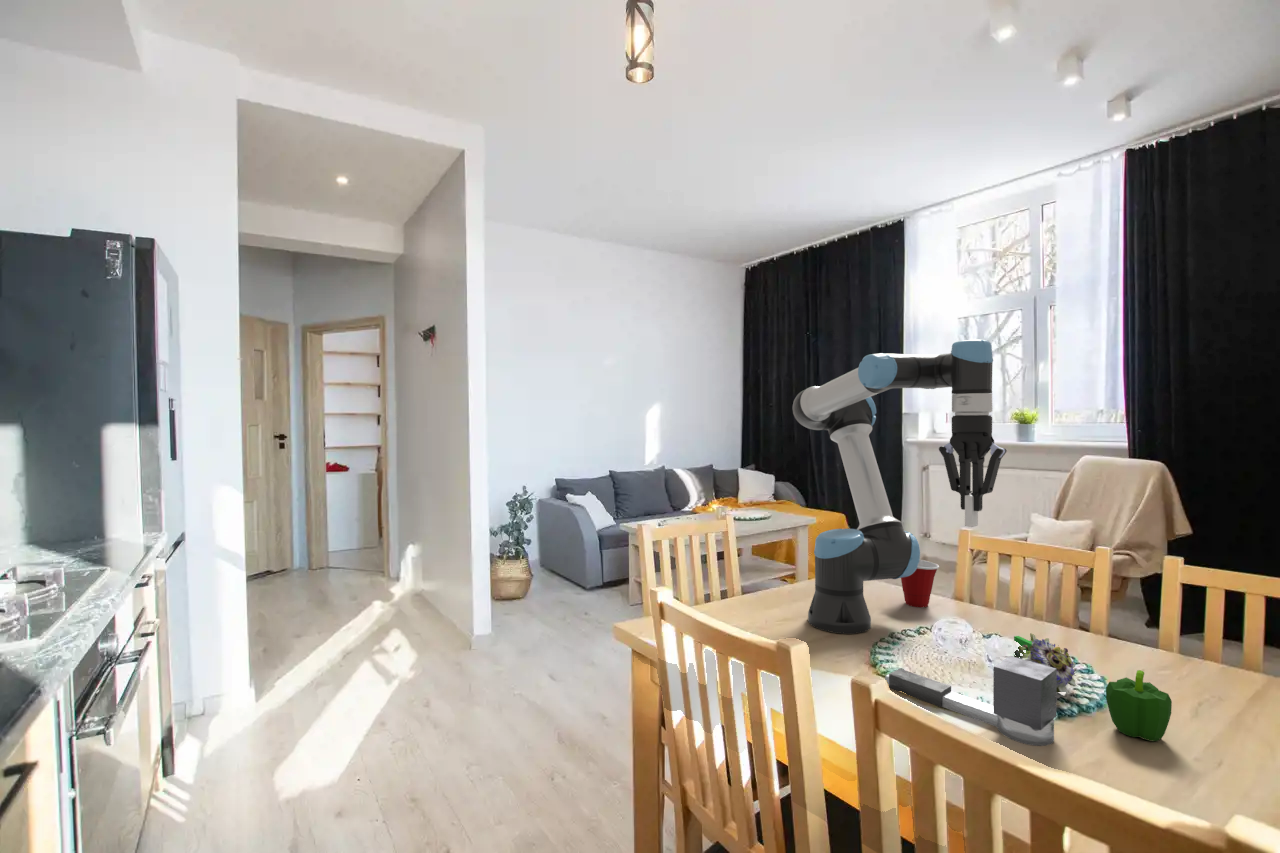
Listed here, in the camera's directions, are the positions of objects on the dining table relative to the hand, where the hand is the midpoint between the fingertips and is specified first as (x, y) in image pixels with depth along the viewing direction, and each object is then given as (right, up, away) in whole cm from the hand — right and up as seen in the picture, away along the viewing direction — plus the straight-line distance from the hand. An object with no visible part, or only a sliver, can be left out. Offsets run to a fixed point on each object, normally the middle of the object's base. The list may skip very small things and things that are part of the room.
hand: (971, 525), depth 129 cm
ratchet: (-12, -30, -19) cm, 38 cm away
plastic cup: (+7, -29, +40) cm, 50 cm away
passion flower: (+8, -30, -10) cm, 33 cm away
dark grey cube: (-6, -27, -27) cm, 39 cm away
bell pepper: (+13, -30, -28) cm, 43 cm away
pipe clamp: (+14, -30, -1) cm, 33 cm away
